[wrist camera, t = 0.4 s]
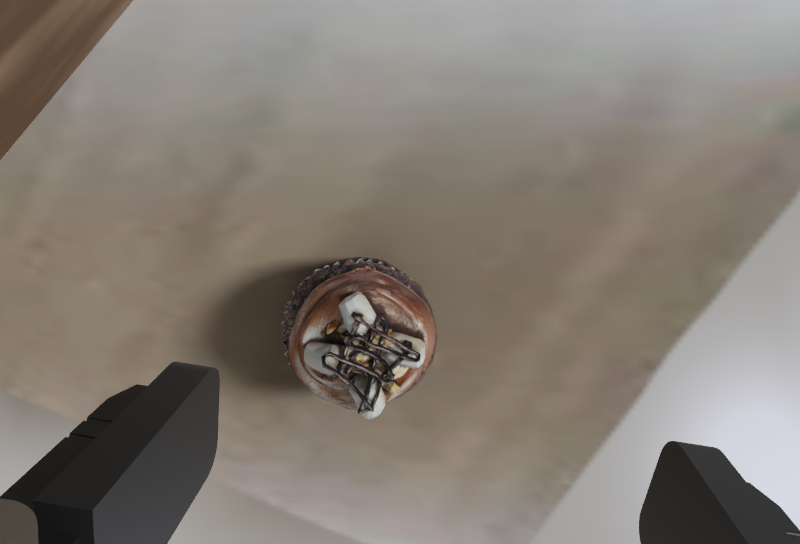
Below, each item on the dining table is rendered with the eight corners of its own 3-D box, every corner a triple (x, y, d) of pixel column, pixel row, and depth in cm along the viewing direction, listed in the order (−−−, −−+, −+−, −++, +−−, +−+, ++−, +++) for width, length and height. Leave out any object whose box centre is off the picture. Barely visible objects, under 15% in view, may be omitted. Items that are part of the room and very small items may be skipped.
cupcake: (332, 219, 37) (306, 247, 27) (456, 285, 38) (475, 334, 28) (272, 337, 39) (228, 402, 29) (392, 396, 40) (388, 478, 30)
